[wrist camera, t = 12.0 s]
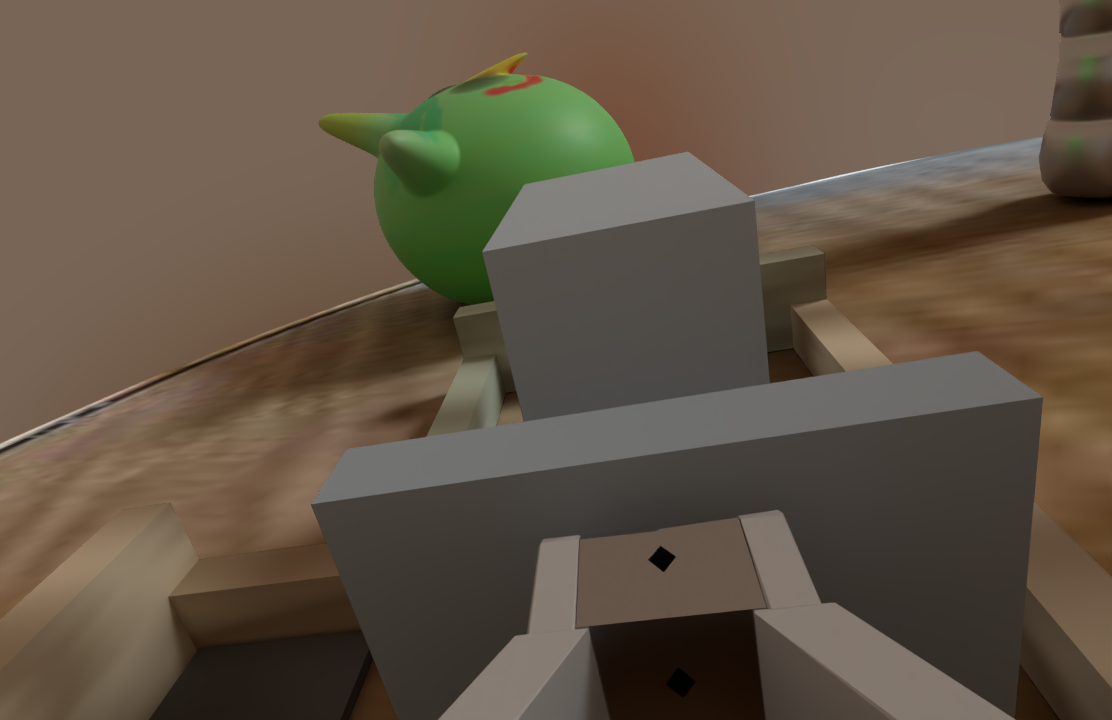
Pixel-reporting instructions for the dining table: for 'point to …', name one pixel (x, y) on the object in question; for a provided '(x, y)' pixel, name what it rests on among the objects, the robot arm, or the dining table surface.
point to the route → (327, 614)
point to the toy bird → (474, 165)
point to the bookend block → (685, 448)
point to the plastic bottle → (1081, 104)
